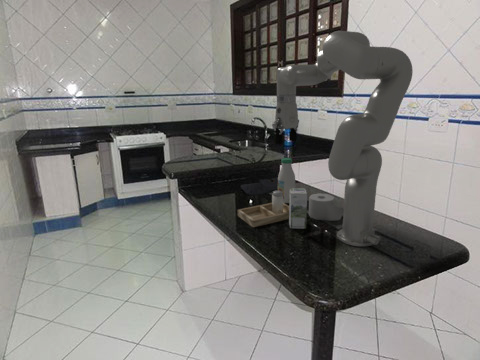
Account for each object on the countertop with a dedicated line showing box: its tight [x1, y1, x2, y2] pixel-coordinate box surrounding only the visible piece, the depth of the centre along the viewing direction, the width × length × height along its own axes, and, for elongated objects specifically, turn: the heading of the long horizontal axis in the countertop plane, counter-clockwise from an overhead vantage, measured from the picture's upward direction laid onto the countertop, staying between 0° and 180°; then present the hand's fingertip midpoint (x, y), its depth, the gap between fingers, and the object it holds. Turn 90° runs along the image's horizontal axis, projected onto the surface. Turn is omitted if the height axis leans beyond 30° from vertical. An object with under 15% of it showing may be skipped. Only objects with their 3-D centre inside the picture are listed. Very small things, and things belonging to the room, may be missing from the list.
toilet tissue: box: [308, 192, 344, 221], centre depth 126 cm, size 9×13×9 cm
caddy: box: [236, 202, 289, 228], centre depth 128 cm, size 13×20×4 cm, turn 116°
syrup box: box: [288, 188, 308, 229], centre depth 118 cm, size 6×6×14 cm
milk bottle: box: [277, 157, 296, 204], centre depth 144 cm, size 8×8×20 cm
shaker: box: [271, 191, 283, 214], centre depth 129 cm, size 4×4×9 cm
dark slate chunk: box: [240, 176, 278, 196], centre depth 166 cm, size 15×22×5 cm
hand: (286, 142), depth 134 cm, fingers open, 9 cm apart
